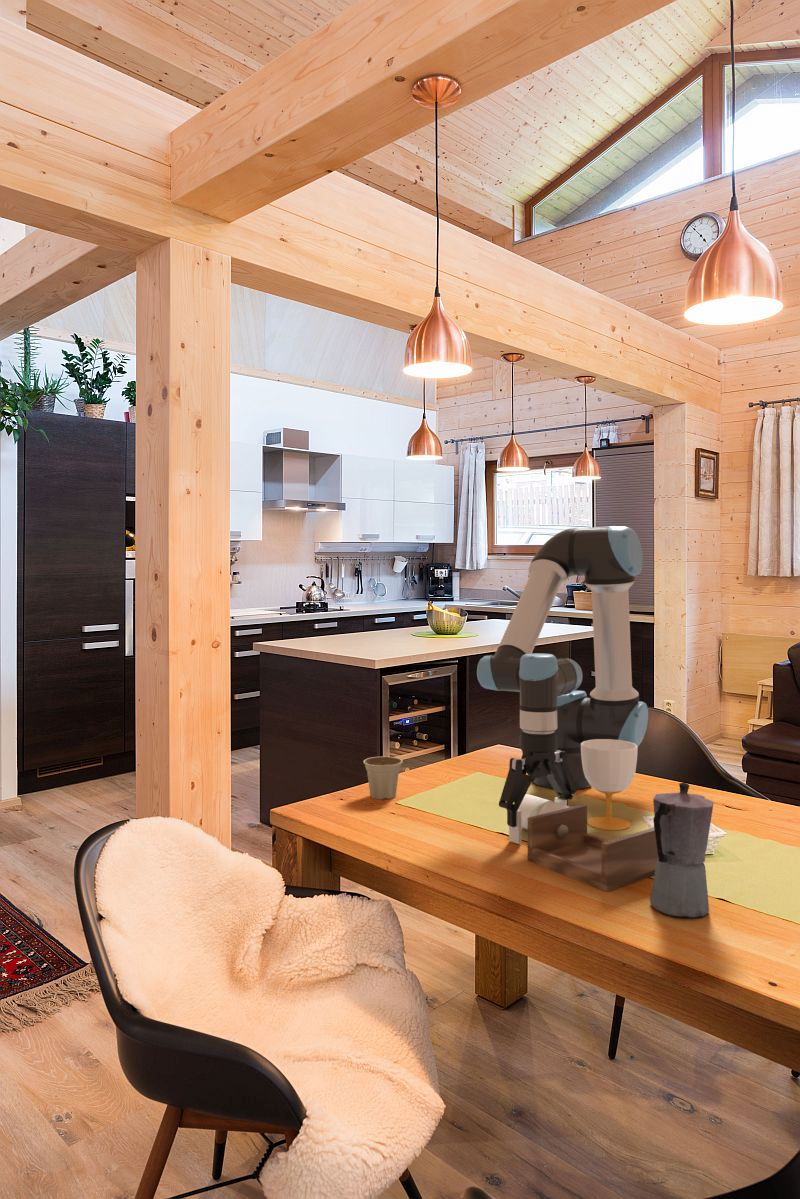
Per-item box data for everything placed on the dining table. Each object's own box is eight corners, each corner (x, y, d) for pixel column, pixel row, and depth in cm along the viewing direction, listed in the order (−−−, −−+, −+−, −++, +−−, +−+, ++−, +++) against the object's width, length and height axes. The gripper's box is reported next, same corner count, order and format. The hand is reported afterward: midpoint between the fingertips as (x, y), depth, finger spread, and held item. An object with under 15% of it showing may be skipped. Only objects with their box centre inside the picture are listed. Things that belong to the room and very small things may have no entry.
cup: (624, 836, 166) (624, 752, 165) (571, 825, 173) (571, 745, 172) (645, 822, 175) (646, 743, 175) (594, 812, 182) (594, 736, 182)
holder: (527, 860, 152) (527, 817, 152) (582, 844, 161) (582, 804, 161) (607, 891, 137) (607, 844, 137) (663, 872, 146) (663, 827, 146)
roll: (507, 818, 169) (521, 787, 172) (527, 833, 173) (541, 802, 175) (550, 834, 159) (565, 801, 161) (571, 848, 163) (585, 816, 165)
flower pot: (399, 802, 192) (399, 765, 191) (360, 801, 193) (359, 764, 193) (405, 791, 201) (405, 757, 201) (367, 790, 202) (367, 756, 202)
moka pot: (727, 902, 132) (728, 780, 132) (689, 934, 121) (690, 800, 120) (670, 888, 139) (671, 770, 138) (629, 916, 127) (629, 789, 127)
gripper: (566, 721, 176) (566, 820, 176) (480, 734, 161) (480, 842, 162) (593, 726, 169) (593, 829, 170) (506, 740, 155) (507, 853, 156)
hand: (538, 836), depth 166 cm, fingers open, 12 cm apart
